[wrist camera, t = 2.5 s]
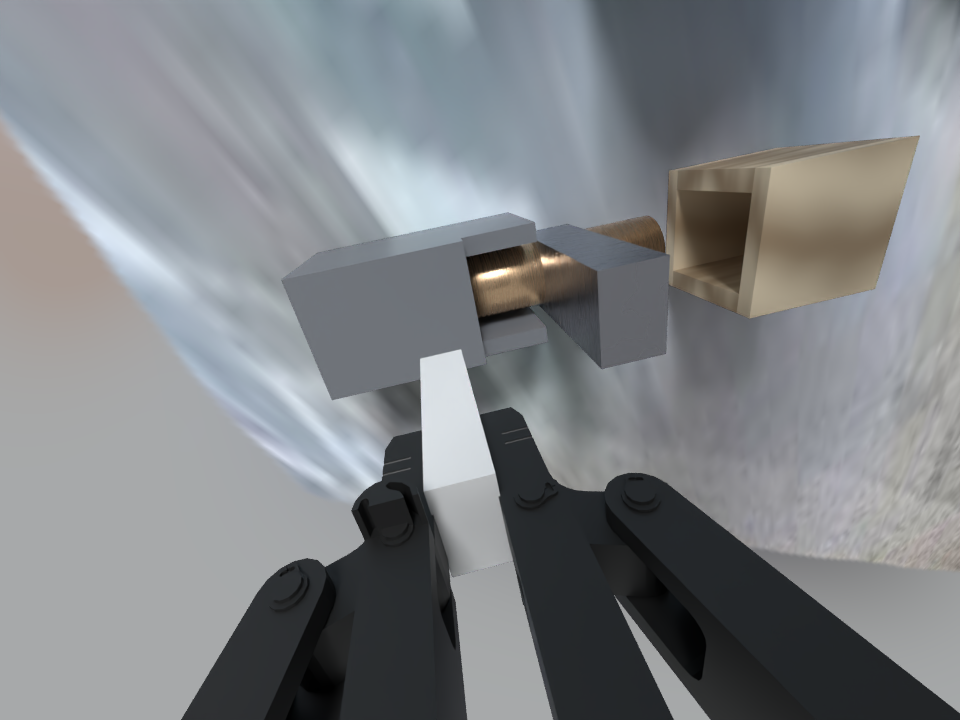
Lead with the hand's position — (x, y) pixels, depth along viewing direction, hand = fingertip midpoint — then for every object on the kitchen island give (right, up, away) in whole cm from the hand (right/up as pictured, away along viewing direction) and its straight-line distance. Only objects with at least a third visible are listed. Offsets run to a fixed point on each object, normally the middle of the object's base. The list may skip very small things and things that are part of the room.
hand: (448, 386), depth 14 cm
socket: (+19, +11, +14) cm, 26 cm away
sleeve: (-2, +6, +13) cm, 15 cm away
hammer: (+3, +7, +12) cm, 14 cm away
